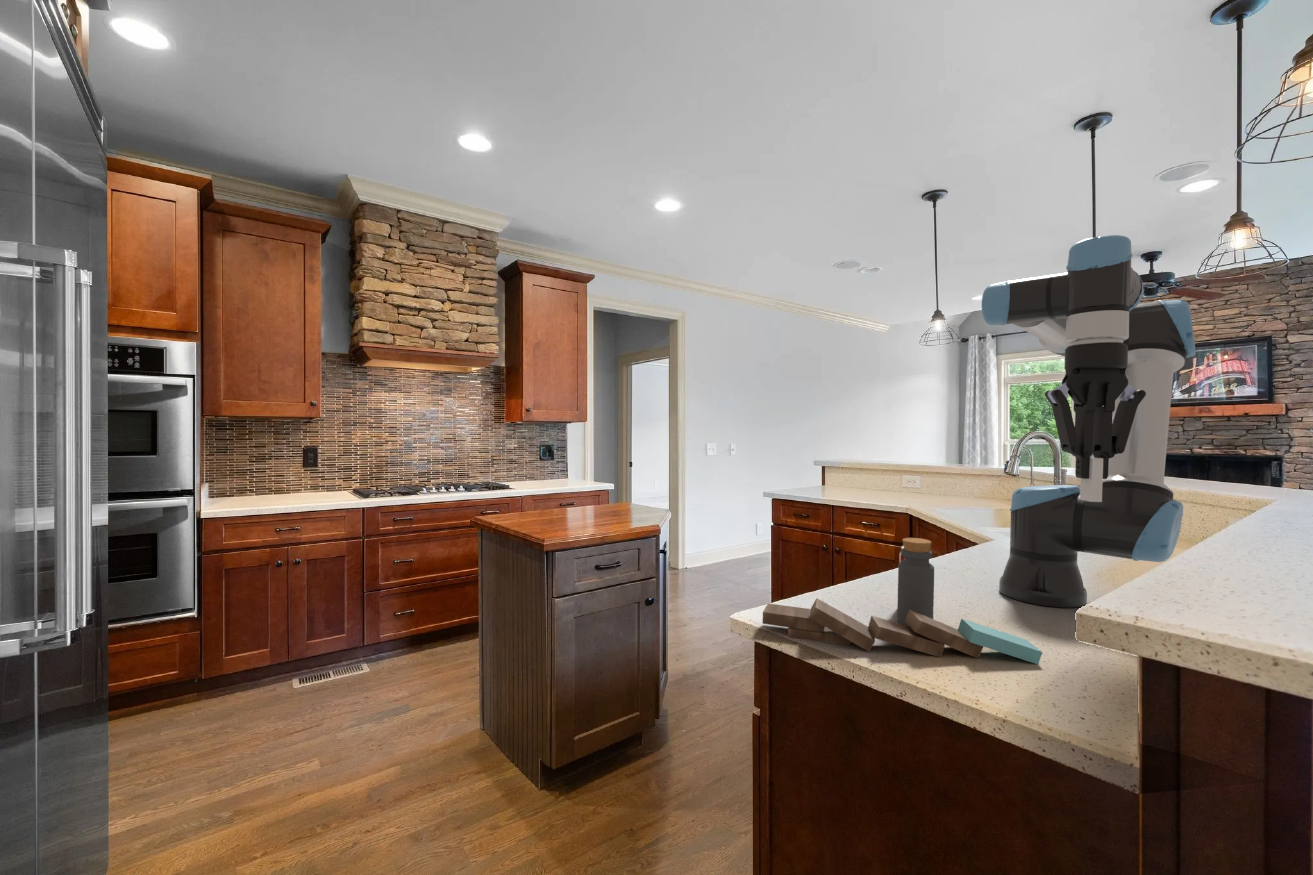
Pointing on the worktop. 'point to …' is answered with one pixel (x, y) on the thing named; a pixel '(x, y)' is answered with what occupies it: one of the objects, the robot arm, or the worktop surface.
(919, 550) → the bottle
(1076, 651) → the worktop surface
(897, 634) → the tile
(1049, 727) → the worktop surface
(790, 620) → the tile
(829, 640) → the tile
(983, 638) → the tile
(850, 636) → the tile
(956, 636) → the tile
